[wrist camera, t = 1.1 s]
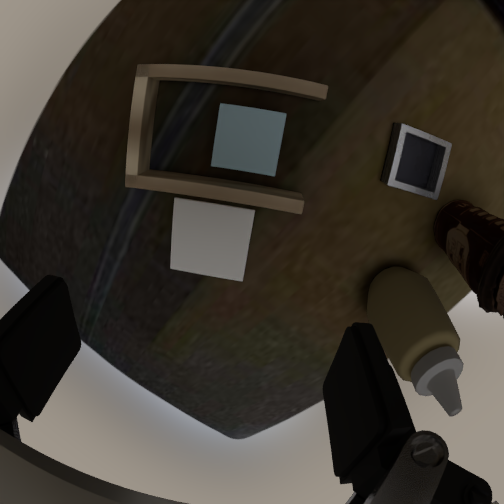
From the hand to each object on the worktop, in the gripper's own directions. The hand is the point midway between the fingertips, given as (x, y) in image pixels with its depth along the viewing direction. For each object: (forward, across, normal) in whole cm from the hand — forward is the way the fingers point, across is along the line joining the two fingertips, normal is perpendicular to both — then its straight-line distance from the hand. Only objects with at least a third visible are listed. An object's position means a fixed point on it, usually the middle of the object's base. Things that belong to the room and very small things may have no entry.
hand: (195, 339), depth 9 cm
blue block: (+21, 0, -5) cm, 22 cm away
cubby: (+21, +2, -5) cm, 22 cm away
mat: (+21, +3, +6) cm, 22 cm away
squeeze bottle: (+21, -18, +9) cm, 29 cm away
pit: (+21, -16, -6) cm, 27 cm away
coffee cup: (+21, -24, 0) cm, 32 cm away
